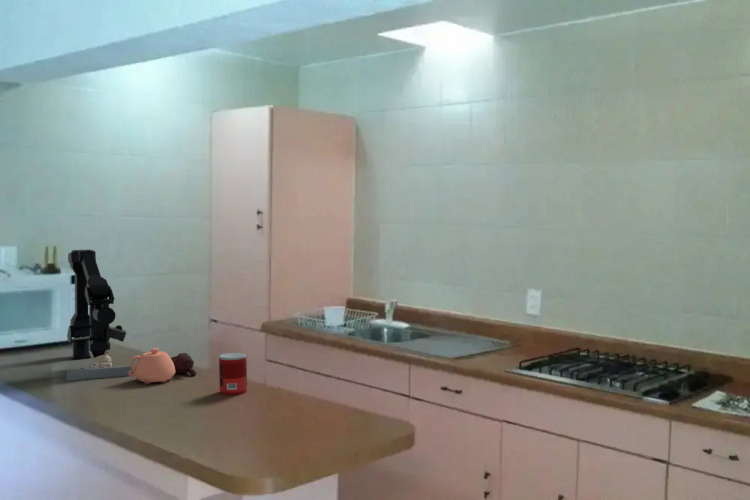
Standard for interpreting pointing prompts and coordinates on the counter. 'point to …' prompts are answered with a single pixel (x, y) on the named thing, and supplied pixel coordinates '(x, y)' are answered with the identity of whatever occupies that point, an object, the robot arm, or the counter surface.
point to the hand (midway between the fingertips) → (100, 366)
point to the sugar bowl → (153, 367)
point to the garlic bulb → (100, 362)
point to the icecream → (183, 364)
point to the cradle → (98, 373)
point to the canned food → (233, 373)
